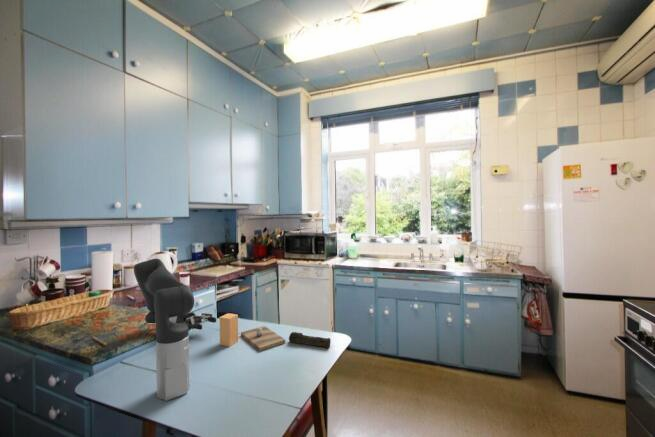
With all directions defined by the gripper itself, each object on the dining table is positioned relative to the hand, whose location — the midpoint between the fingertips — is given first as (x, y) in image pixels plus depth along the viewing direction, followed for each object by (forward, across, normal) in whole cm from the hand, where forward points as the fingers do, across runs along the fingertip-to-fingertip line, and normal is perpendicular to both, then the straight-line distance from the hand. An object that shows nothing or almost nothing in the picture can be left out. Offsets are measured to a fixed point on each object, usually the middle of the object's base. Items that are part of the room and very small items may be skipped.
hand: (208, 323), depth 128 cm
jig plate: (+23, +8, +7) cm, 25 cm away
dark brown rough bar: (+45, +10, +7) cm, 47 cm away
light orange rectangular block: (+11, 0, +7) cm, 13 cm away
